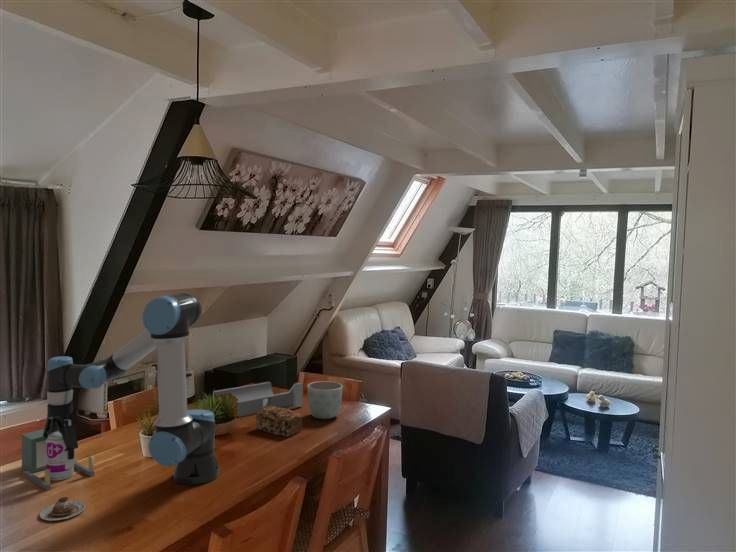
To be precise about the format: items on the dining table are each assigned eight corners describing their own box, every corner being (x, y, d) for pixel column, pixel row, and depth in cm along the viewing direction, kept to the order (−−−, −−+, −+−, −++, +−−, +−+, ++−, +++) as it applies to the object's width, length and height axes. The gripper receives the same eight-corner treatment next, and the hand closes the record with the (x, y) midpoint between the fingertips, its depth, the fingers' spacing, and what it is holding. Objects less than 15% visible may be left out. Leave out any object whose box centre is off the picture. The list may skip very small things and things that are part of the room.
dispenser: (94, 475, 188) (94, 441, 188) (46, 491, 175) (46, 454, 175) (59, 456, 203) (59, 425, 203) (12, 469, 191) (12, 436, 190)
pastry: (74, 523, 157) (74, 508, 156) (30, 524, 156) (30, 508, 155) (92, 504, 168) (92, 489, 168) (51, 504, 167) (51, 490, 167)
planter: (348, 415, 263) (349, 384, 262) (327, 424, 249) (328, 392, 248) (321, 409, 272) (321, 379, 271) (299, 417, 258) (300, 386, 257)
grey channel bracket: (268, 394, 298) (268, 372, 297) (302, 408, 274) (303, 383, 274) (212, 405, 275) (213, 381, 275) (245, 421, 252) (245, 394, 251)
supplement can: (61, 482, 182) (61, 439, 181) (40, 480, 183) (40, 436, 183) (79, 473, 190) (79, 431, 189) (58, 470, 191) (58, 428, 191)
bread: (254, 430, 239) (255, 407, 239) (270, 423, 248) (271, 402, 248) (287, 438, 230) (288, 415, 229) (303, 431, 239) (303, 409, 238)
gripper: (89, 406, 181) (89, 469, 182) (54, 393, 196) (54, 450, 197) (66, 411, 175) (66, 476, 176) (32, 397, 189) (32, 457, 191)
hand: (60, 463), depth 186 cm, fingers open, 13 cm apart
